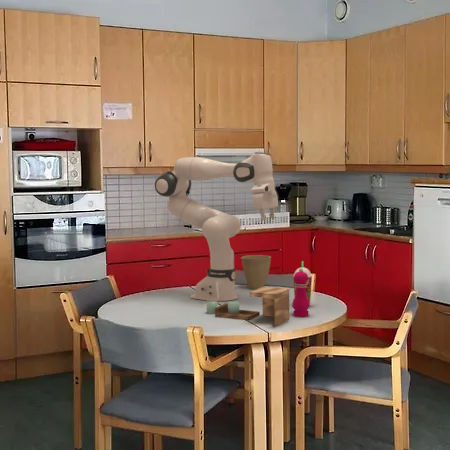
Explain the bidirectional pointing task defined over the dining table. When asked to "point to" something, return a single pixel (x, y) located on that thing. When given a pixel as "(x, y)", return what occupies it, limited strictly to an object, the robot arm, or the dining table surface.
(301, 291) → the pepper mill
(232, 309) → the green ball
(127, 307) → the dining table surface
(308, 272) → the smoothie
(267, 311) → the counter cubby
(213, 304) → the pale green rounded cylinder
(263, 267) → the plant pot
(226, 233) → the robot arm
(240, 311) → the tray
